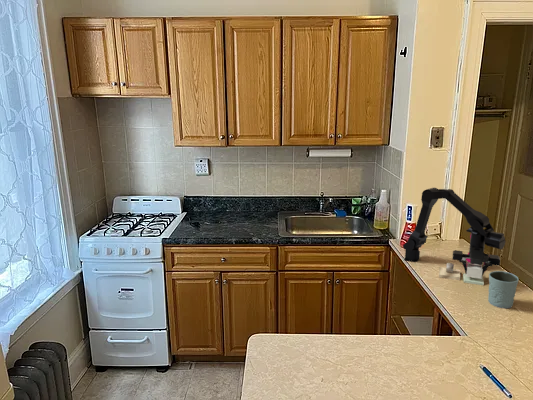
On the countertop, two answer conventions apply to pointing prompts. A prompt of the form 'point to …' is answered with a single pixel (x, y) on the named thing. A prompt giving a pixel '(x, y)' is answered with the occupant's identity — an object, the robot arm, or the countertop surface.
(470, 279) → the pad
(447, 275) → the post base
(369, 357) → the countertop surface
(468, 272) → the white cabinet cube
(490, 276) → the teal plant pot
